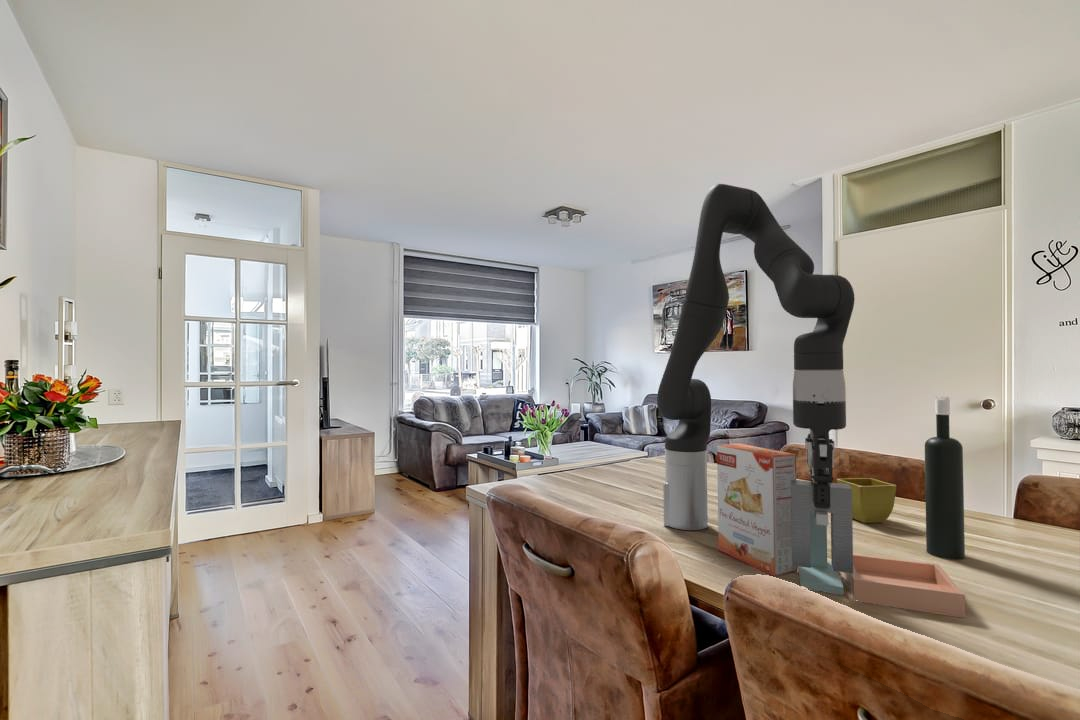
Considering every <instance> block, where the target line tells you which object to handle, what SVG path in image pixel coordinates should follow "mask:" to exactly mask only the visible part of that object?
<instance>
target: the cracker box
mask: <svg viewBox="0 0 1080 720" xmlns="http://www.w3.org/2000/svg"><path fill="white" fill-rule="evenodd" d="M796 455H797V454H796V453H792V452H791V453H790V452H788V451H787V452H785V451H782V450H775V449H771V448H764V447H761V446H760V447H759V446H756V445H749V444H744V443H737V442H736V443H723V444H719V445H717V446H716V456H717V457H716V460H717V461H716V462H717V463H716V464H717V465H716V466H717V468H716V469H717V472H716V473H717V520H718V521H717V529H718V530H717V532H718V533H717V534H718V535H717V536H718V551H720V552H722V553H724V554H726V555H729V556H730V557H732V558H734V559H737V560H739V561H741V562H743V563H745V564H747V565H750V566H752V567H754V568H755V569H758V570H760V571H762V572H763V573H766V574H768V575H770V576H772V575H773V576H772V577H777V576H783V575H786V574H787V575H788V574H791V573H796V572H798V566H793V565H792V541H791V480H797V456H796Z"/></svg>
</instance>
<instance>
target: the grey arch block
mask: <svg viewBox="0 0 1080 720" xmlns="http://www.w3.org/2000/svg"><path fill="white" fill-rule="evenodd" d="M810 511H816V512H827V513H830V544H831V545H830V554H831V555H830V559H831V562H830V563H832V567H833V570H834V571H837V572H839V573H844V572H845V573H852V574H853V554H854V547H853V545H854V543H853V542H854V541H853V540H854V539H853V537H854V535H853V532H854V531H853V530H854V529H853V528H854V527H853V518H852V488H851V487H850V485H849V484H841V483H837V482H832V483H831V485H830V508H829V509H821V508H816V507H815V506H814V483H813V481H811V480H797V479H796V480H791V541H792V565H793V566H800V567H807V568H811V546H810Z"/></svg>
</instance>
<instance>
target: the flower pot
mask: <svg viewBox="0 0 1080 720" xmlns="http://www.w3.org/2000/svg"><path fill="white" fill-rule="evenodd" d="M836 481H837V482H836V483H841V484H849V485H850V487H851V488H852V520H856V521H859V522H861V523H864V524H867V523H868V524H869V523H870V524H871V523H885V522H886V521H887V520H888V518H889V517H890V515H891V514H892V512H893V509H894V506H895V500H896V492H897V485H896V484H893V483H889V482H885V481H882V480H879V479H875V478H871V477H857V478H855V477H854V478H851V477H850V478H836Z"/></svg>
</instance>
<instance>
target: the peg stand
mask: <svg viewBox="0 0 1080 720" xmlns="http://www.w3.org/2000/svg"><path fill="white" fill-rule="evenodd" d="M828 527H829V514H828V513H827V512H816V511H810V546H811V568H807V567H800V566H798V571H797V572H798V577H799V585H801V586H804V587H806V588H808V589H811V590H810V591H812V590H813V591H814V592H819V591H823V592H822V593H826V592H828V594H832V595H833V594H834V595H839V594H840V596H845V595H844V593H845V591H844V584H843V582H842V579H841V575H840V572H837V571H834V570H833V567H832V563H831V562H829V561H828ZM801 586H800V587H801ZM824 591H826V592H824Z"/></svg>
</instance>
